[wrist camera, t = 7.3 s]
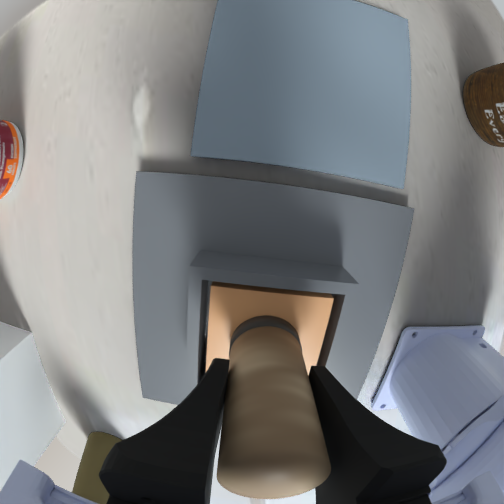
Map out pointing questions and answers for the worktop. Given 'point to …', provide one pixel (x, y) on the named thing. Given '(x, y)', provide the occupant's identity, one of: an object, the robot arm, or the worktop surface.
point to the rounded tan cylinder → (270, 415)
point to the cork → (94, 467)
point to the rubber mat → (307, 88)
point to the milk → (24, 402)
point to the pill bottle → (9, 156)
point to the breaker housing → (257, 267)
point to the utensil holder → (486, 103)
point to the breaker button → (266, 303)
